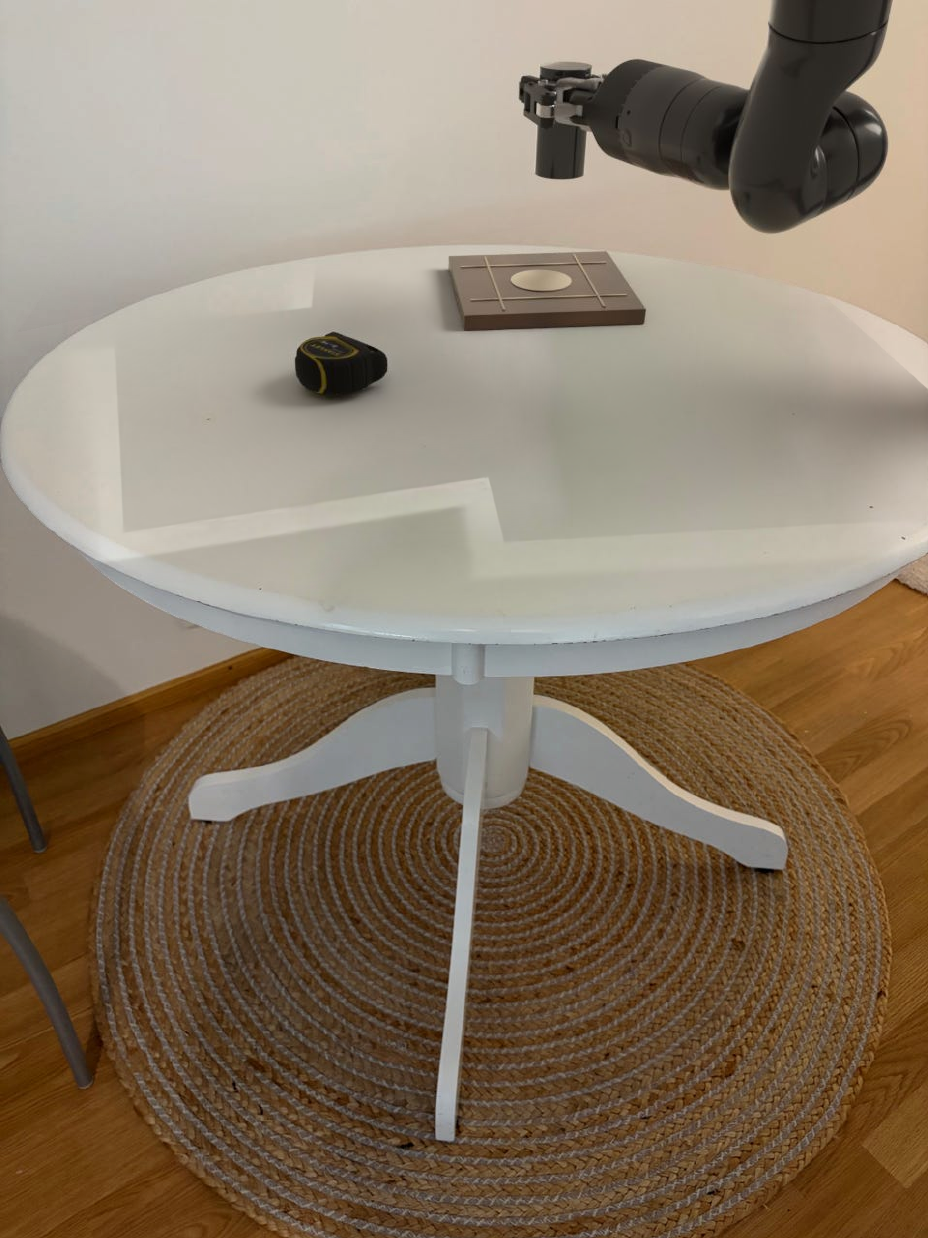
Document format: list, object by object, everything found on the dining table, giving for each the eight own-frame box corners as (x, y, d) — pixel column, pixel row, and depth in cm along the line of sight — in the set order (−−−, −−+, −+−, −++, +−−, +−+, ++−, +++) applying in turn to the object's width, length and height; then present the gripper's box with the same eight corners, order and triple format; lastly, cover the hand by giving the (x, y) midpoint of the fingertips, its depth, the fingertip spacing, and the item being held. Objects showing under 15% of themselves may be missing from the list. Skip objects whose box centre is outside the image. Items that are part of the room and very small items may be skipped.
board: (605, 264, 109) (606, 249, 108) (644, 323, 95) (646, 308, 94) (448, 269, 107) (448, 254, 106) (464, 330, 93) (464, 314, 92)
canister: (579, 166, 93) (586, 60, 88) (589, 178, 89) (597, 69, 84) (530, 167, 93) (535, 61, 87) (538, 179, 89) (544, 70, 84)
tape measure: (392, 386, 83) (391, 345, 81) (332, 411, 79) (329, 369, 77) (341, 364, 87) (338, 324, 85) (281, 387, 83) (276, 346, 81)
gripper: (737, 59, 77) (615, 33, 89) (590, 73, 72) (481, 44, 84) (721, 159, 82) (608, 122, 94) (582, 179, 77) (480, 137, 88)
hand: (548, 85), depth 89 cm, fingers closed on canister, 4 cm apart
